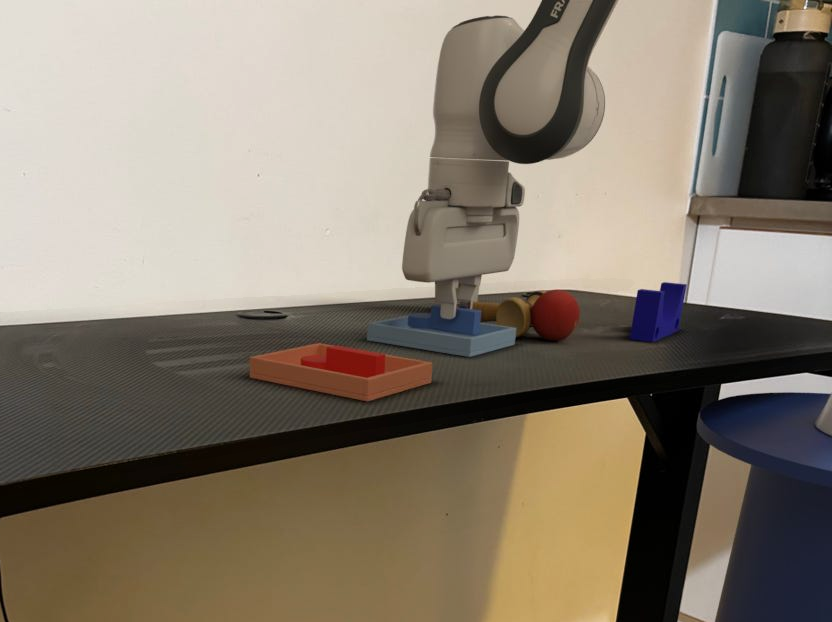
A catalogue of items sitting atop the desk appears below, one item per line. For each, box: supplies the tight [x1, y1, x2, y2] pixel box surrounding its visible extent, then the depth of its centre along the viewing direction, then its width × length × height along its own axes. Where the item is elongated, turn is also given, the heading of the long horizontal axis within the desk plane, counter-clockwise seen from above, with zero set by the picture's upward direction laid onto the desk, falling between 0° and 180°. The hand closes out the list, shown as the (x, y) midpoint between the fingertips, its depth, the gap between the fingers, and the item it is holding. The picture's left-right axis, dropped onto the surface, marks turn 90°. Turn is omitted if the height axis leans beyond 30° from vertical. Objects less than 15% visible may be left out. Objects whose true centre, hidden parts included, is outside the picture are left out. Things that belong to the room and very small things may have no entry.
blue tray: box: [366, 315, 517, 358], centre depth 116 cm, size 14×11×2 cm
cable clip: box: [629, 281, 688, 343], centre depth 127 cm, size 12×4×6 cm, turn 148°
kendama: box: [472, 289, 581, 342], centre depth 123 cm, size 8×6×18 cm
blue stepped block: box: [407, 304, 481, 335], centre depth 115 cm, size 9×4×3 cm, turn 54°
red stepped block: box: [301, 345, 386, 378], centre depth 95 cm, size 9×4×3 cm, turn 54°
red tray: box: [249, 342, 434, 402], centre depth 95 cm, size 14×11×2 cm
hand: (455, 317), depth 114 cm, fingers closed on blue stepped block
